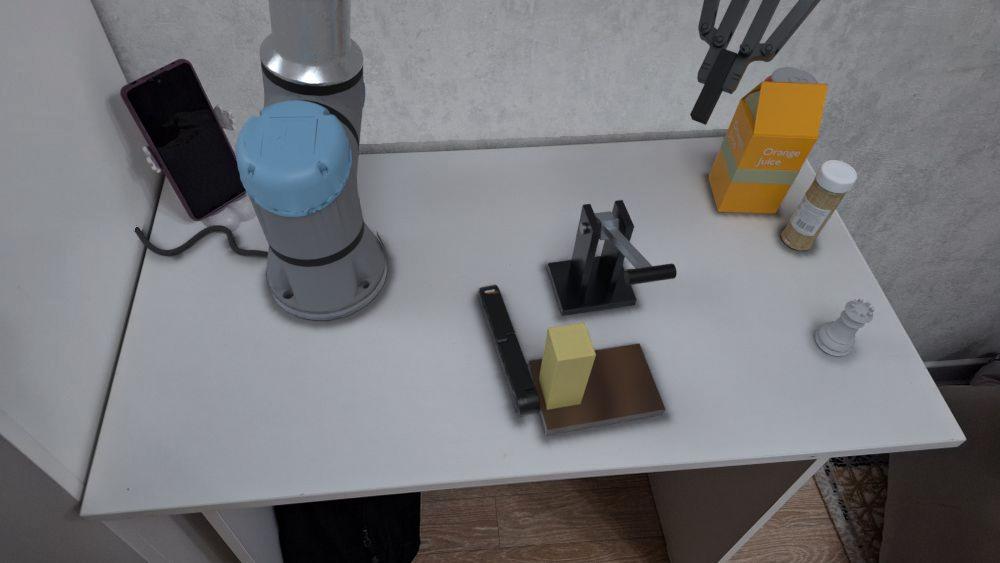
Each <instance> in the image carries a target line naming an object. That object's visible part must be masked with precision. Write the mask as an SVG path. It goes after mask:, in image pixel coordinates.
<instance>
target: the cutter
mask: <svg viewBox="0 0 1000 563" xmlns="http://www.w3.org/2000/svg"><path fill="white" fill-rule="evenodd" d="M611 212H612V213H613V214H614V215H615V216H616V217H617V218H618V219H619V231H620V232H621V233H622V234H623V235H624V237H625V238H626V239H627V240H628V241H629V242H630V243H631V239H632V236H633V232H634V228H635V224H634V221H633V220H632V218H631V215H630V213H629V211H628V208H627V206H626V204H625V201H624V200H623V199H618V200H614V204H613V207H612V210H611ZM594 213H595V211H594V209H593V206H592V204H591V203H585V204H582V206H581V212H580V216H579V221H578V225H577V230H576V236H575V239H574V240H575V241H574V246H573V251H572V256H571V259H568V260H567V259H565V260H560V261H559V260H558V261H552V262H547V265H546V270H547V273H548V276H549V279H550V283H551V286H552V289H553V292H554V295H555V299H556V301H557V306H558V308H559V311H560V314H561V316H562V317H563V316H570V315H577V314H583V313H585V314H586V313H591V312H598V311H604V310H610V309H619V308H624V307H632V306H635V305H636V303H637V297H636V294H635V292H634V289H633V287H632V285H627V284H626V282H625V279H624V272H625V270H626V269H625V267H624V261H625V259H626V257H625V256H624V255H623V254H622V253H621V252H620V251H619V249H618V248H617V247H616V246H615V245H614V244H613V243H612V242H611V240H610V239H609V240H603V241H604V242H603V245H602V249H601V251H600V252H601V253H600V255H597V256H596V253H597V249H598V246H599V242H600V239H599V238H600V234H601V229H600V226H599V224H598V221H597V219H596V216H595V214H594Z"/></svg>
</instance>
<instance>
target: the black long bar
mask: <svg viewBox="0 0 1000 563" xmlns="http://www.w3.org/2000/svg"><path fill="white" fill-rule="evenodd" d="M478 301H479V302H478V303H479V306H480V308H481V310H482V314H483V317H484V319H485V323H486V326H487V329H488V332H489V334H490V337H491V340H492V343H493V347H494V349H495V352H496V356H497V358H498V361H499V364H500V367H501V370H502V373H503V377H504V381H505V383H506V386H507V389H508V392H509V394H510V398H511V401H512V404H513V407H514V411H515V412H516V415H517V416H518V417H519V418H520V417H524V416H527V415H531V414H534V413H535V414H536V413H540V402H539V398H538V394H537V391H536V389H535V386H534V383H533V380H532V378H531V375H530V372H529V369H528V363H527V361H526V358H525V356H524V354H523V351H522V348H521V344H520V341H519V338H518V337H517V334H516V332H515V329H514V327H513V323H512V321H511V318H510V315H509V312H508V309H507V306H506V304H505V301H504V298H503V296H502V293H501V290H500V288H499V285H498V284H491V285H486V286H481V287H479V288H478Z"/></svg>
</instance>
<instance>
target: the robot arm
mask: <svg viewBox="0 0 1000 563" xmlns="http://www.w3.org/2000/svg"><path fill="white" fill-rule="evenodd" d="M750 1H751V0H730V2H729V4H728V7H727V9H726V10H725V13H724V15H723V17H722V19H721V21H720V23H719V25H718V27H717V28H716V27H715V25H716V21H717V17H718V11H719V7H720V3H721V0H703V3H702V8H701V11H700V17H699V23H698V26H697V29H698V35H699V39H700V40H701V41H703V42H705V43H706V44H707V45H708V46H709V48H708V50H707V52H706V54H705V57H704V59H703V60H702V63H701V65H700V67H699V69H698V71H697V78H696V79H697V82H698V83H699V84H702V85H703V86H702V89H701V91H700V93H699V95H698V96H697V97H698V98H696V101H695V103H694V105H693V108H692V109H691V112H690V114H689V115H690V118H691V120H692V121H695V122H697V123H700V124H702V125H705V126H706V125H708V122H709V120H710V118H711V117H712V114H713V112H714V110H715V108H716V106H717V103H718V102H719V99H720V98H721V95H722V93H727V94H730V95H732V94H733V93H735V91H737V89H738V87H739V85H740V82H741V80H742V78H743V76H744V74H745V72H746V70H747V68H748V66H749V65H750V64H752V63H754V62H764V63H769V62H772V61H773V60H774V59H775V57H776V56H777V55H778V54H779V53H780V51H781V50H782V49H783V48H784V46H785V45H786V44H787V43H788V41H789V40H790V39H791V38H792V36H793V35H794V34H795V32H796V31H797V30H798V29H799V28H800V26H801V25H802V24H803V23H804V21H805V20H806V19H807V18H808V17H809V16H810V15H811V13H812V12H813V10H814V9H815V8H816V7H817V6H818V4H819V3H820V2H821V0H798V1H797V2H796V3H795V4H794V6H793V7H792V8H791V9H790V11H789V12H788V13H787V15H786V16H785V17H784V18H783V19H782V21H781V22H780V23H779V24H778V26H777V27H776V28H775V29H774V30H773V32H772V33H771V34H770V35H769V37H768V38H767V39H766V41H765V42H763V43H762V42H761V41H762V39H763V37H764V34H765V33H766V31H767V29H768V26H769V24H770V23H771V21H772V19H773V16H774V14H775V12H776V11H777V8H778V6H779V4H780V2H781V0H762V1H761V2H760V5H759V7H758V8H757V11H756V13H755V15H754V17H753V19H752V21H751V23H750V26H749V27H748V29H747V32H746V33H745V36H744V38H743V40H742V42H741V44H739V50H738V51H737V52H734V51H732V50H729V49H727V48H728V47H729V44H730V42H731V41H732V38H733V36H734V34H735V33H736V30H737V28H738V26H739V24H740V22H741V20H742V18H743V16H744V13H745V11H746V9H747V8H748V5H749V3H750ZM267 2H268V10H269V19H270V20H269V21H270V30H271V31H270V32H271V33H269V34H268V35H267V36H266V37H265V38H264V39H263V40H262V42H261V43H260V46H259V58H260V68H261V77H262V85H263V108H261V109H260V110H259V115H258V116H256V115H255V116H254V115H252V116H251V117H250V118H248V119H247V121H246V122H245V123H244V124H243V126H242V127H241V129H240V131H239V133H238V135H237V138H236V143H235V151H234V152H235V160H236V163H237V170H238V173H239V179H240V182H241V183H242V186H243V188H244V189H245V192H246V193H247V195H248V198H249V200H250V202H251V205H252V208H253V210H254V213H255V215H256V218H257V220H258V222H259V224H260V227H261V229H262V232H263V234H264V237H265V240H266V241H267V244H268V249H267V250H268V251H267V250H259V249H242V248H240V247H238V246H237V244H236V242H235V238H234V235H233V233H232V231H231V229H230V228H228V227H227V226H225V225H221V224H217V225H216V224H214V225H209V226H207V227H205V228H203V229H201V230H200V231H198V232H197V233H196V234H194V235H193V236H192V237H191V238H189V239H188V240H187V241H186V242H184V243H183V244H181V245H179V246H177V247H175V248H172V249H164V248H163V249H162V248H159V247H157V246H155V244H152V242H151V241H150V240H149V239H148V237H146V235H145V234H144V232H143V231H142V229H141V228H140V227H139V226H138V227H136V228H135V231H134V233H135V234H136V236H137V237H138V238H139V240H140V241H141V243H142V244H143V245H144V246H145V247H146V248H147V249H149V251H151V252H153V253H155V254H157V255H160V256H174V255H177V254H180V253H181V252H182V253H183V252H185V251H186V250H187V249H189V248H190V247H191V246H193V245H194V244H195V243H197V242H198V241H200V239H201V238H203V237H205V236H206V235H207V234H209V233H212V232H223V233H224V234H225V235H226V238H227V242H228V245H229V247H230V249H231V250H232V251H233V252H234V253H236V254H238V255H240V256H255V257H264V258H267V262H266V270H265V274H266V275H265V276H266V277H265V278H266V282H267V285H268V287H269V290H270V292H271V294H272V297H273V298H274V300H275V301H276V303H277V304H278V305H279V307H281V308H282V309H283V310H284V311H286V312H288V313H289V314H290V315H293V316H296V317H298V318H301V319H305V320H310V321H331V320H338V319H340V318H344V317H347V316H350V315H352V314H355V313H356V312H358V311H360V310H361V309H363V308H365V307H366V306H367V305H368V304H370V303H371V302H372V301H373V300H374V299H375V298H376V297H377V296H378V294H379V293H380V291H381V290H382V288H383V286H384V284H385V281H386V278H387V272H388V271H387V270H388V268H387V267H388V266H387V265H388V264H387V259H386V254H385V253H387V249H386V246H385V244H384V242H383V240H382V238H381V236H380V234H379V232H378V230H376V231H375V232H376V235H377V237H376V235H375V234H374V233H373V231H372V230H371V229H370V227H369V225H367V224H366V222H365V221H364V215H363V211H362V206H361V200H360V196H359V188H358V169H359V168H358V167H359V154H360V141H361V130H362V121H363V120H362V119H363V109H364V106H365V102H366V83H365V80H364V78H365V77H364V53H363V50H362V48H361V47H360V46H359V44H358V43H357V42H356V41H355V40H354V39H352V37H351V35H352V34H351V27H352V26H351V24H352V23H351V19H352V18H351V17H352V16H351V15H352V14H351V12H352V10H351V9H352V8H351V7H352V0H267Z"/></svg>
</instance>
